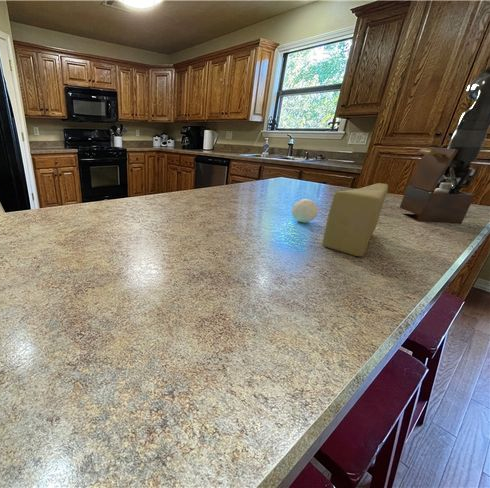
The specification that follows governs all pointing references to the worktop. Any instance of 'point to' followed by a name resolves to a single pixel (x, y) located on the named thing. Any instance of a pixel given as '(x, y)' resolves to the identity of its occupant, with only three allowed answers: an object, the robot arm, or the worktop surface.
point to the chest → (436, 205)
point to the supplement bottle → (443, 188)
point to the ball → (305, 210)
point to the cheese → (354, 218)
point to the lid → (431, 167)
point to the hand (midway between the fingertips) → (443, 197)
